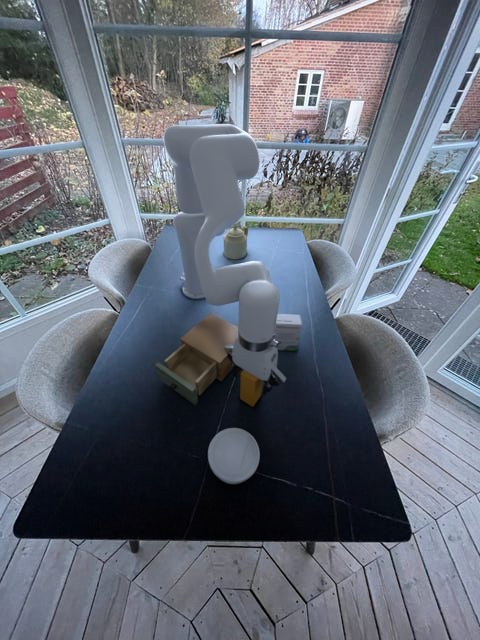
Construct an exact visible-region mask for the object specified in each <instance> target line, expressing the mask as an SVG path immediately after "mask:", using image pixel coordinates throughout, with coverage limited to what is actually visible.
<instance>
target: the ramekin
mask: <svg viewBox="0 0 480 640" xmlns="http://www.w3.org/2000/svg"><path fill="white" fill-rule="evenodd" d="M207 449H208V450H207V459H208V465H209V467H210V469H211V471H212V472H213V474H214V475H215V476H216V477H217V478H218V479H219V480H221V482H224V483H226V484H228V485H229V484H230V485H238V484H241V483H243V482H245V481H247V480H248V479H250V478H252V476H253V475H254V474H255V473H256V471H257V469H258V467H259V464H260V460H261V459H260V458H261V457H260V456H261V453H260V448H259V445H258V442H257V441H256V439H255V437H254V436H253V435H252V434H251V433H250V432H248V431H247V430H245V429H242V428H240V427H239V428H238V427H230V428H229V427H228V428H225V429H223V430H220V431H219V432H217V434H215V435H214V437H213V438H212V439H211V441H210V443H209V446H208V448H207Z"/></svg>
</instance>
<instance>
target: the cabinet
mask: <svg viewBox="0 0 480 640" xmlns="http://www.w3.org/2000/svg"><path fill="white" fill-rule="evenodd" d="M237 333H238V326H237V325H234V324H232V323H230V322H229V321H226V320H225V319H223V318H221V317H219V316H217V315H216V314H214V313H212V312H210V313H209V314H208V315H206V316H205V317H204V318H203V319H202V320H201V321H199V322H198V323H197V324H196V325H194V326H193V327H192V328H191V329H189V331H188V332H186V333H185V334H184V335H182V336H181V337H180V338H179V341H180V347H181V346H182V345H183V344H184V343H185V344H187V345H188V346H190V347H192V348H193V349H195V350H196V351H198V352H200V353H201V354H203V355H205V356H206V357H208V358H210V359H211V360H213V361H215V362H216V363H218V374H219V375H218V376H217V377H216V378H215V379H217V380H218V381H220V382H222V381H223V380H224V379H225V378H226V377H227V375H228V374H229V373H231V371H233V366H231V364H230V363H231V361H230V360H229V358H228V357H227V354H226V352H225V350H224V347H225V346H226V345H234V341H235V338H236V335H237Z"/></svg>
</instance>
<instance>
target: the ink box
mask: <svg viewBox="0 0 480 640" xmlns="http://www.w3.org/2000/svg"><path fill="white" fill-rule="evenodd" d="M302 329H303V320H302V316H301V314H292V313H291V314H288V313H278V314H277V320H276V326H275V332H274V334H275V340H276V341H278V342H279V345H278V347H277V349H278V351H297V349H298V345H299V341H300V337H301V333H302Z"/></svg>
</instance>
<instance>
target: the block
mask: <svg viewBox="0 0 480 640" xmlns="http://www.w3.org/2000/svg"><path fill="white" fill-rule="evenodd" d="M263 383H264V381H263V380H261V379H259V378H258V377H256V376H254V375H252V374H251V373H249V372H247V371H246V370H244V369H242V370H241V372H240V385H239V386H240V388H239V389H240V390H239V399H240V400H241V401H243V402H244V403H246V404H248V405H249V406H251V407H252V408H254V406H255V405H256V403H257V402H258V400H259V399H260V398H261V396H262V393H263V386H264V384H263Z"/></svg>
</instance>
